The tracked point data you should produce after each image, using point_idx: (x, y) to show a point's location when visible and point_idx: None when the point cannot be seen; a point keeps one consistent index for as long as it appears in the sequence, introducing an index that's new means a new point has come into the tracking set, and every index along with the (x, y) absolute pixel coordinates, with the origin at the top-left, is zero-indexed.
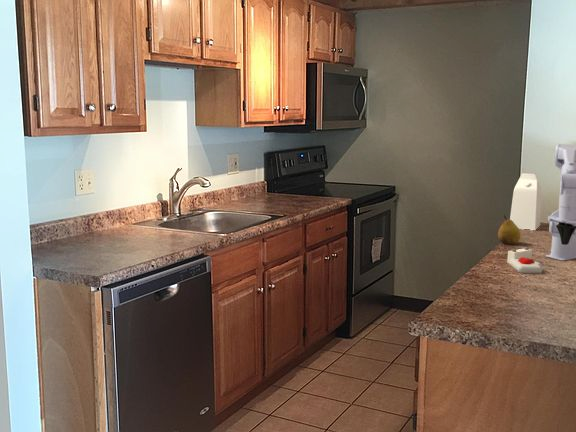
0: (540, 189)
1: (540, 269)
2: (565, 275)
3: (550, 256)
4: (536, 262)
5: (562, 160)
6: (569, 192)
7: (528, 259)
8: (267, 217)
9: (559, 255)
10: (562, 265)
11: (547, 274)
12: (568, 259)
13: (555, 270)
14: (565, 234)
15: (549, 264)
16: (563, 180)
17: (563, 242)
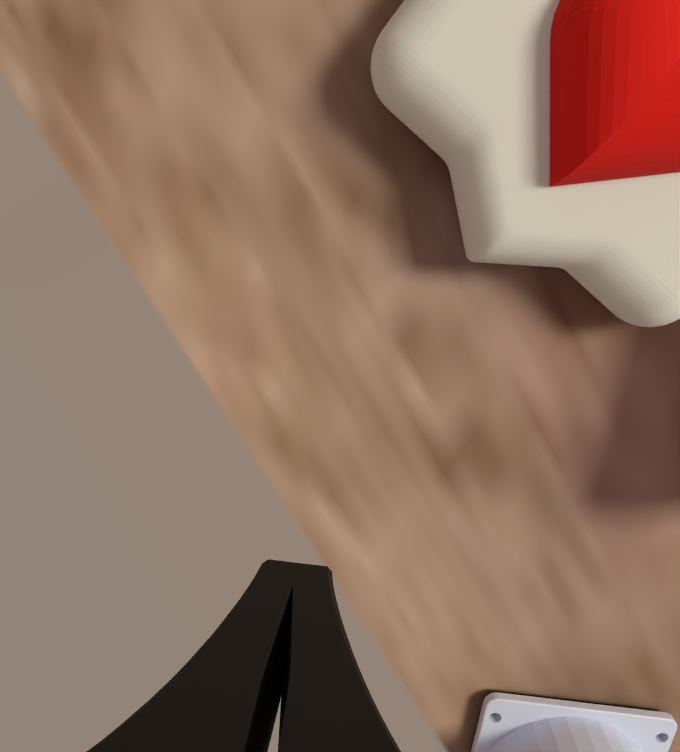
0: None
1: (377, 43)
2: (175, 237)
3: (623, 716)
4: (531, 208)
5: None
6: None
7: (615, 60)
8: None
9: (545, 742)
10: (410, 560)
11: (306, 101)
12: (471, 750)
13: (349, 339)
14: (184, 698)
15: (510, 501)
16: None
17: (280, 577)
